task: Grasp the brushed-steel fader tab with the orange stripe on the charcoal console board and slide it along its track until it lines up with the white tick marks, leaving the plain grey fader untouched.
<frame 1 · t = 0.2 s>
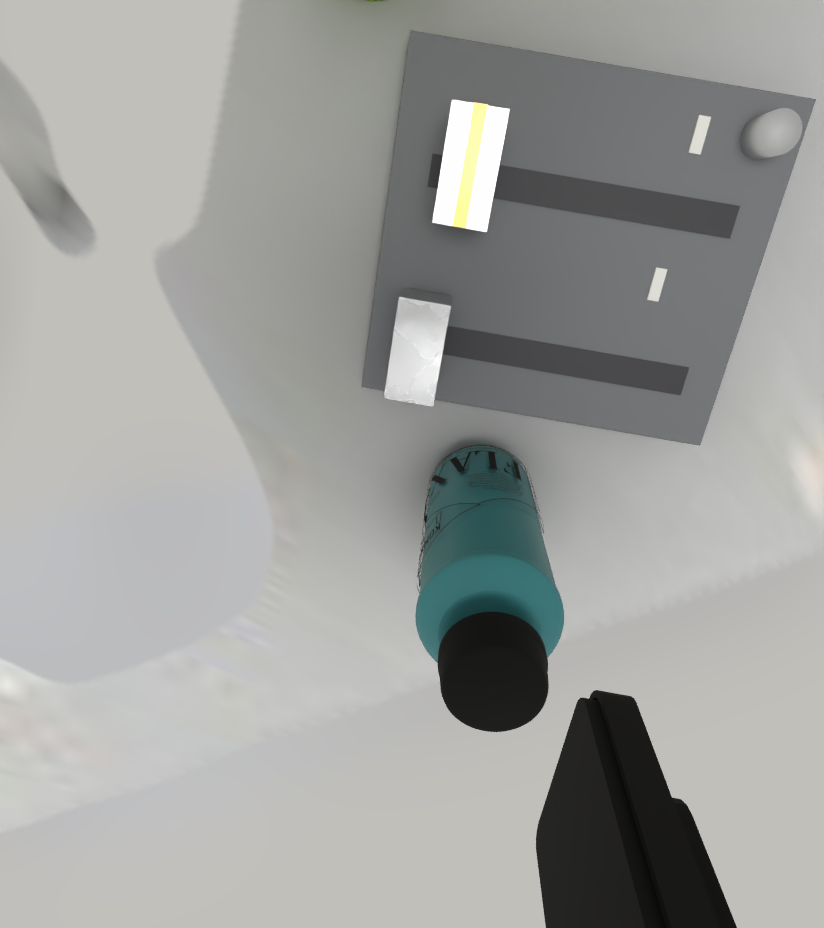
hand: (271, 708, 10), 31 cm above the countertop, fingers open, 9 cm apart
fader tab 2: (419, 344, 34), point 5 cm above the countertop, slide at 0.0 cm
beverage bottle: (478, 482, 42), on the countertop
fader tab: (468, 172, 31), point 5 cm above the countertop, slide at -6.0 cm
console: (562, 254, 37), on the countertop
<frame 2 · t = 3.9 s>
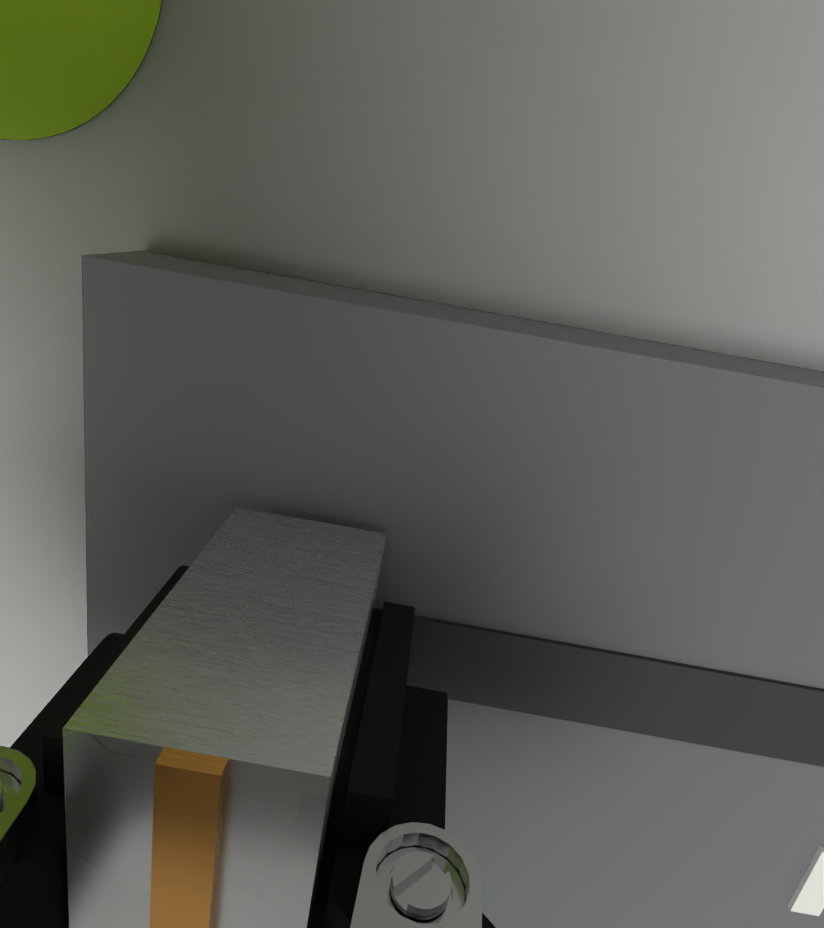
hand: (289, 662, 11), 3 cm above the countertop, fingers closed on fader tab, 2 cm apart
fader tab: (252, 758, 9), point 5 cm above the countertop, slide at -6.0 cm, touching gripper
console: (566, 737, 15), on the countertop
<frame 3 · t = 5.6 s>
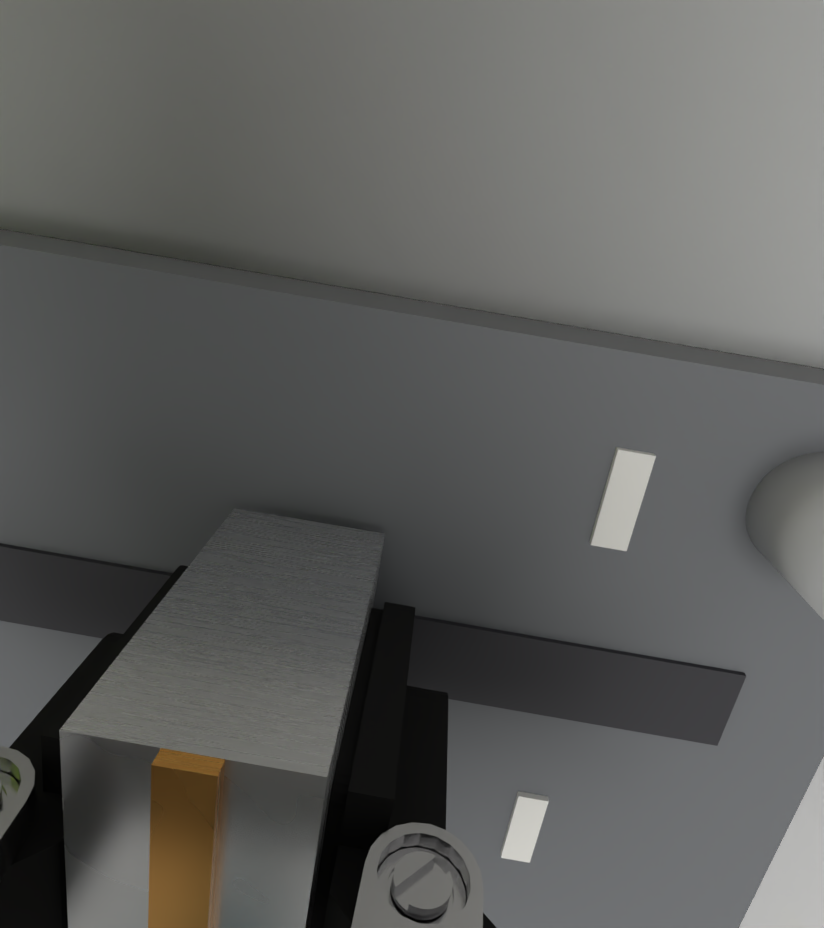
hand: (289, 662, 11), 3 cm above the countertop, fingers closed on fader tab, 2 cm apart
fader tab: (251, 759, 9), point 5 cm above the countertop, slide at 0.1 cm, touching gripper
console: (305, 690, 15), on the countertop
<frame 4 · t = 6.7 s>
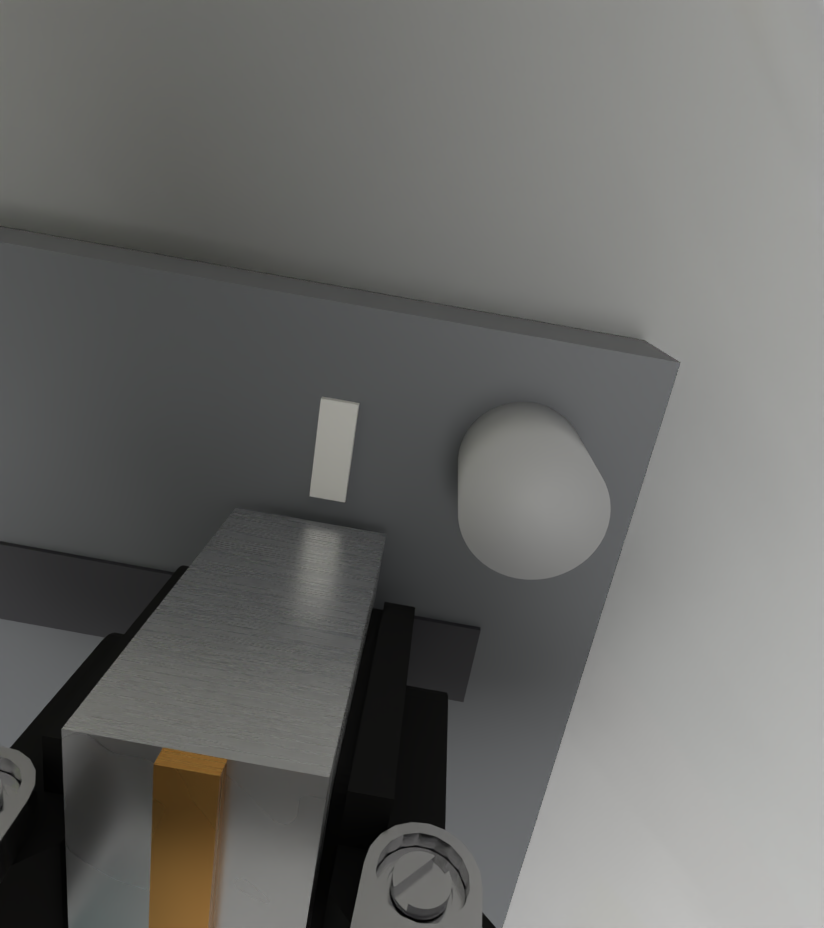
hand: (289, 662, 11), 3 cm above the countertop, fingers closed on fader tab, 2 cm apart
fader tab: (252, 759, 9), point 5 cm above the countertop, slide at 4.8 cm, touching gripper
console: (99, 653, 15), on the countertop
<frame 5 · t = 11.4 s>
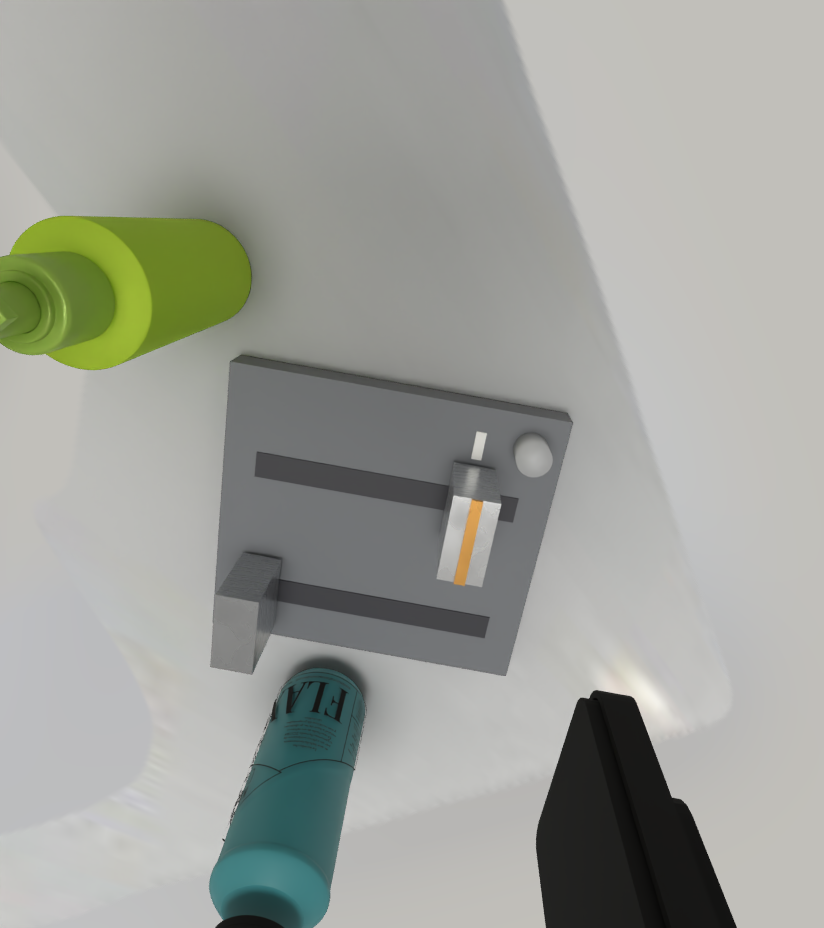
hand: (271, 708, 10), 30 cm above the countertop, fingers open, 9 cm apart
soap dispenser: (196, 278, 38), on the countertop
fader tab 2: (247, 611, 40), point 5 cm above the countertop, slide at 0.0 cm
beverage bottle: (327, 687, 48), on the countertop
fader tab: (467, 522, 36), point 5 cm above the countertop, slide at 5.0 cm
console: (382, 517, 42), on the countertop
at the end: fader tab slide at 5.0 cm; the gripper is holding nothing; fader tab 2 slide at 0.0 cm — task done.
